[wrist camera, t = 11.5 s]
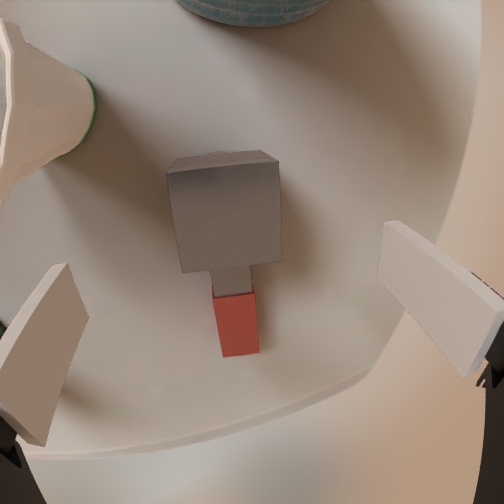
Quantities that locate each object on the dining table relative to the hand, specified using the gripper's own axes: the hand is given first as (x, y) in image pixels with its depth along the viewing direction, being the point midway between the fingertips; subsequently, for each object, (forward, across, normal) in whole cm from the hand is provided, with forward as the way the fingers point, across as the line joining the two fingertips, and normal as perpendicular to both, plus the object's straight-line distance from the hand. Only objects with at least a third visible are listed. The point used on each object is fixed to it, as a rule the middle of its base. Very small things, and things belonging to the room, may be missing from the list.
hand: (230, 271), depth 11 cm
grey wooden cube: (+13, 0, 0) cm, 13 cm away
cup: (+16, -14, +9) cm, 23 cm away
